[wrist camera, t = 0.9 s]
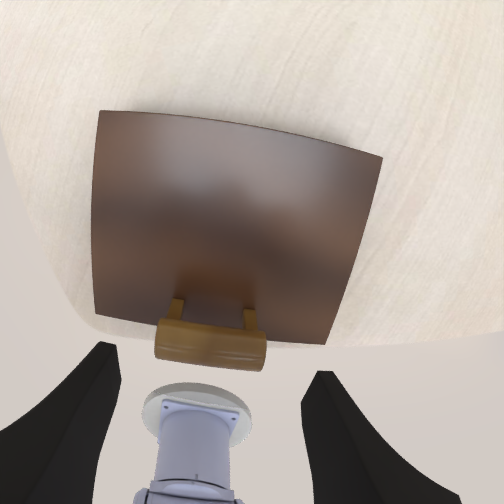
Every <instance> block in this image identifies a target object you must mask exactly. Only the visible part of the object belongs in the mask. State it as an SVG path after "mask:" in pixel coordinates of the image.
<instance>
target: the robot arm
mask: <svg viewBox="0 0 504 504" xmlns="http://www.w3.org/2000/svg"><path fill="white" fill-rule="evenodd" d="M120 385H121V374H120V368H119V362H118V355H117V347H116V345H115V344H111V343H106V342H102V341H100V342H98V343H97V344H96V346H95V347H94V348H93V349H92V350H91V351H90V352H89V354H88V355H87V356H86V357H85V358H84V359H83V360H82V361H81V362H80V363H79V365H78V366H77V367H76V368H75V369H74V370H73V371H72V372H71V373H70V374H69V375H68V376H67V377H66V378H65V379H64V380H63V381H62V382H61V383H60V384H59V385H58V386H57V387H56V388H55V389H54V390H53V391H52V392H51V393H50V394H49V395H48V396H47V397H45V398H44V399H43V400H42V401H41V402H40V403H39V404H37V405H36V406H35V407H34V408H32V409H31V410H30V411H29V412H27V413H26V414H25V415H23V416H22V417H21V418H19V419H18V420H17V421H15V422H14V423H12V424H11V425H9V426H8V427H6V428H4V429H3V430H1V431H0V504H92V498H93V490H94V482H95V476H96V470H97V464H98V460H99V455H100V452H101V449H102V445H103V442H104V439H105V436H106V433H107V430H108V427H109V424H110V421H111V418H112V415H113V412H114V409H115V406H116V403H117V399H118V394H119V390H120ZM301 417H302V428H303V433H304V438H305V444H306V448H307V453H308V458H309V464H310V469H311V474H312V480H313V493H314V504H462V503H461V500H460V498H459V495H457V494H455V493H453V492H452V491H450V490H448V489H446V488H444V487H442V486H440V485H439V484H437V483H435V482H434V481H432V480H431V479H429V478H428V477H426V476H425V475H423V474H422V473H421V472H419V471H418V470H416V468H414V467H413V466H412V465H411V464H409V463H408V462H407V461H406V460H405V459H403V458H402V457H401V456H400V455H399V454H398V453H397V452H396V451H395V450H394V449H393V448H392V447H391V446H390V445H389V444H388V443H387V442H386V441H385V440H384V439H383V438H382V437H381V435H380V434H379V433H378V432H377V431H376V430H375V428H374V427H373V426H372V425H371V424H370V422H369V421H368V420H367V418H365V416H364V415H363V413H362V412H361V411H360V409H359V408H358V407H357V405H356V404H355V402H354V401H353V400H352V398H351V397H350V395H349V394H348V393H347V391H346V390H345V388H344V387H343V385H342V384H341V383H340V381H339V380H338V378H337V377H336V375H335V374H334V372H333V371H317V373H316V375H315V377H314V379H313V380H312V382H311V384H310V386H309V388H308V390H307V392H306V394H305V395H304V397H303V399H302V401H301ZM238 419H239V412H237V411H231V410H224V409H218V408H211V407H205V406H200V405H194V404H189V403H184V402H179V401H174V400H169V399H163V400H162V405H161V414H160V423H159V433H158V444H159V450H158V457H157V464H156V470H155V477H154V481H151V483H150V490H149V489H147V488H142V489H141V490H140V491H138V492H137V493H136V495H135V497H134V501H133V504H244V503H243V502H242V500H240V499H234V491H233V490H230V465H229V464H230V462H229V439H230V437H231V434H232V432H233V430H234V428H235V426H236V423H237V421H238Z"/></svg>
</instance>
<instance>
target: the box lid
mask: <svg viewBox="0 0 504 504" xmlns="http://www.w3.org/2000/svg"><path fill="white" fill-rule="evenodd" d="M382 160H383V158H382V157H380V156H377V155H374V154H370V153H367V152H363V151H360V150H357V149H353V148H349V147H346V146H342V145H338V144H335V143H331V142H327V141H323V140H319V139H315V138H310V137H306V136H302V135H297V134H293V133H288V132H283V131H278V130H273V129H268V128H263V127H258V126H252V125H246V124H240V123H234V122H228V121H221V120H214V119H207V118H199V117H191V116H182V115H172V114H161V113H148V112H133V111H110V110H100V111H99V118H98V126H97V134H96V143H95V153H94V165H93V180H92V202H91V254H92V277H93V292H94V304H95V313H96V314H99V315H104V316H108V317H113V318H118V319H123V320H128V321H134V322H139V323H144V324H150V325H156V326H157V330H156V336H155V346H154V347H155V348H154V353H155V357H156V358H157V359H162V360H168V361H174V362H181V363H188V364H195V365H202V366H210V367H218V368H227V369H236V370H246V371H257V372H259V371H261V370H262V368H263V366H264V362H265V357H266V348H267V340H269V341H280V342H292V343H305V344H321V345H325V343H326V341H327V338H328V336H329V333H330V330H331V328H332V325H333V322H334V320H335V317H336V314H337V312H338V309H339V306H340V303H341V301H342V298H343V295H344V292H345V289H346V286H347V283H348V280H349V277H350V274H351V271H352V268H353V265H354V262H355V259H356V256H357V253H358V249H359V246H360V243H361V239H362V236H363V233H364V229H365V226H366V222H367V219H368V215H369V212H370V208H371V204H372V201H373V197H374V193H375V189H376V185H377V181H378V177H379V173H380V169H381V165H382Z"/></svg>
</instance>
